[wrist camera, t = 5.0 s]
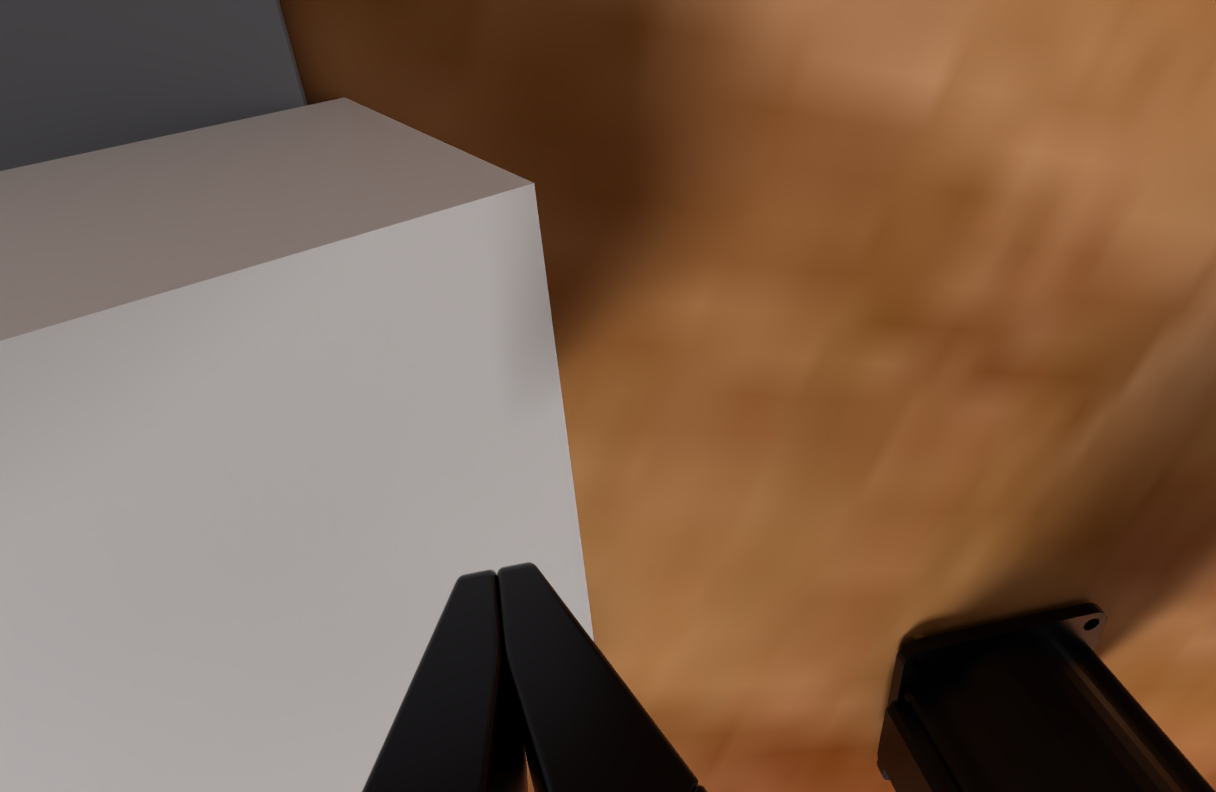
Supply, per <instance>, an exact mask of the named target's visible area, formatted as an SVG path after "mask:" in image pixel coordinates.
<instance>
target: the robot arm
mask: <svg viewBox="0 0 1216 792" xmlns="http://www.w3.org/2000/svg"><path fill="white" fill-rule="evenodd" d="M1106 621H1107V616H1106V614H1105V613H1104V612H1103V611H1102V610H1101V609H1100V608H1099V607H1098V606H1097V605H1096V604H1094V603H1084V604H1080V605H1075V606H1071V607H1066V608H1062V609H1057V610H1052V611H1048V612H1043V613H1039V614H1034V615H1030V616H1025V617H1021V618H1016V619H1011V620H1007V621H1002V622H998V623H993V624H989V625H984V626H979V627H975V628H970V629H966V630H961V631H957V632H952V633H948V634H943V635H938V636H934V637H929V638H925V639H920V640H916V641H913V642H910V643H908V644H906V645H905V646H903V647H902V648H901V649H900V650H899V652H898V655H897V659H896V664H895V670H894V675H893V680H892V686H891V691H890V696H889V702H888V706H887V708H886V710H885V716H884V721H883V727H882V732H881V737H880V743H879V748H878V761H877V766H878V768H879V770H880V772H881V774H882V776H883V778H884V779H886V780H890V781H891V783H892V785H893V787H894V789H895V791H896V792H1215V790H1214V789H1213V788H1212V787H1211V786H1210V785H1209V783H1208V782H1207V781H1206V780H1205V779H1204V778H1203V777H1202V775H1201V774H1200V773H1199V772H1198V771H1197V770H1196V769H1195V767H1194V766H1193V765H1192V764H1191V763H1190V762H1189V760H1188V759H1187V758H1186V757H1185V756H1184V755H1183V754H1182V752H1181V751H1180V750H1179V749H1178V748H1177V747H1176V746H1175V744H1174V743H1173V742H1172V741H1171V740H1170V739H1169V737H1168V736H1167V735H1166V734H1165V733H1164V732H1163V731H1162V729H1161V728H1160V727H1159V726H1158V725H1157V724H1156V722H1155V721H1154V720H1153V719H1152V718H1151V717H1150V716H1149V714H1148V713H1147V712H1146V711H1145V710H1144V709H1143V708H1142V706H1141V705H1140V704H1139V703H1138V702H1137V701H1136V699H1135V698H1134V697H1133V696H1132V695H1131V694H1130V693H1129V691H1128V690H1127V689H1126V688H1125V687H1124V686H1123V685H1122V683H1121V682H1120V681H1119V680H1118V679H1117V678H1116V676H1115V675H1114V674H1113V673H1112V672H1111V671H1110V670H1109V668H1108V667H1107V666H1106V665H1105V664H1104V663H1103V661H1102V660H1101V659H1100V658H1099V657H1098V656H1097V655H1096V653H1095V649H1096V647H1097V644H1098V642H1099V639H1100V636H1101V634H1102V631H1103V629H1104V626H1105V624H1106ZM525 752H526V755H525ZM526 757H527V761H528V766H529V770H530V774H531V779H532V783H533V787H534V791H535V792H707V791H706V789H705V788H704V787H703V786H701V785H699V786H698V780H697V778H696V777H695V775H694V774H693V773H692V771H691V770H690V769H689V767H688V766H687V765H686V763H685V762H684V761H683V759H682V758H681V757H680V755H679V754H678V753H677V751H676V750H675V749H674V747H673V746H672V745H671V744H670V742H669V741H668V740H667V738H666V737H665V736H664V734H663V733H662V732H661V730H660V729H659V728H658V726H657V725H656V724H655V722H654V721H653V720H652V718H651V717H650V716H649V714H648V713H647V712H646V710H645V709H644V708H643V706H642V705H641V704H640V702H639V701H638V700H637V698H636V697H635V696H634V694H633V693H632V692H631V690H630V689H629V688H628V687H627V685H626V684H625V683H624V681H623V680H622V679H621V677H620V676H619V675H618V673H617V672H616V671H615V669H614V668H613V667H612V665H611V664H610V663H609V661H608V660H607V659H606V657H605V656H604V655H603V653H602V652H601V651H600V649H599V648H598V647H597V645H596V644H595V643H594V641H593V640H592V639H591V637H590V636H589V635H588V634H587V632H586V631H585V630H584V628H583V627H582V626H581V624H580V623H579V622H578V620H577V619H576V618H575V616H574V615H573V614H572V612H571V611H570V610H569V608H568V607H567V606H566V604H565V603H564V602H563V600H562V599H561V598H560V596H559V595H558V594H557V592H556V591H555V590H554V588H553V587H552V586H551V584H550V583H549V582H548V580H547V579H546V578H545V577H544V575H543V574H542V573H541V571H540V570H539V569H538V567H537V566H536V565H535V564H533V563H531V562H527V563H521V564H516V565H511V566H506V567H502V568H500V569H499V570H498V573H497V574H496V572H495V571H493V570H485V571H479V572H474V573H469V574H464V575H461V576H460V577H459V578H458V579H457V581H456V583H455V585H454V587H453V589H452V591H451V594H450V596H449V598H448V600H447V603H446V605H445V607H444V609H443V612H442V614H441V616H440V618H439V620H438V623H437V625H436V627H435V629H434V632H433V634H432V636H431V638H430V641H429V643H428V645H427V647H426V650H425V652H424V654H423V656H422V658H421V661H420V663H419V665H418V667H417V670H416V672H415V674H414V676H413V679H412V681H411V683H410V685H409V688H408V690H407V692H406V694H405V696H404V699H403V701H402V703H401V705H400V708H399V710H398V712H397V714H396V717H395V719H394V721H393V723H392V726H391V728H390V730H389V732H388V734H387V737H386V739H385V741H384V743H383V746H382V748H381V750H380V752H379V755H378V757H377V759H376V761H375V764H374V766H373V768H372V770H371V772H370V775H369V777H368V779H367V781H366V784H365V786H364V788H363V790H362V792H528V783H527V764H526Z"/></svg>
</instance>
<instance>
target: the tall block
mask: <svg viewBox="0 0 1216 792" xmlns="http://www.w3.org/2000/svg"><path fill="white" fill-rule="evenodd" d="M527 562H531V563H533V564H535V565H536V566H537V567H538V569H539V570H540V571H541V573H542V574H543V575H544V577H545V578H546V579H547V580H548V582H549V583H550V584H551V586H552V587H553V588H554V590H555V591H556V592H557V594H558V595H559V596H560V598H561V599H562V600H563V602H564V603H565V604H566V606H567V607H568V608H569V610H570V611H571V612H572V614H573V615H574V616H575V618H576V619H577V620H578V622H579V623H580V624H581V626H582V627H583V628H584V630H585V631H586V632H587V634H588V635H589V636H590V637H591V639H592V640H593V641H594V638H593V630H592V623H591V615H590V607H589V600H588V592H587V584H586V577H585V569H584V561H583V554H582V546H581V538H580V531H579V523H578V515H577V508H576V500H575V492H574V485H573V477H572V469H571V462H570V454H569V446H568V439H567V431H566V423H565V416H564V408H563V400H562V393H561V385H560V377H559V370H558V362H557V354H556V347H555V339H554V331H553V324H552V316H551V308H550V301H549V293H548V285H547V278H546V270H545V262H544V255H543V247H542V239H541V232H540V224H539V216H538V209H537V201H536V193H535V186H534V183H533V182H531V181H528V180H526V179H524V178H522V177H520V176H517V175H515V174H513V173H511V172H508V171H506V170H504V169H502V168H500V167H497V166H495V165H493V164H491V163H489V162H486V161H484V160H482V159H480V158H478V157H475V156H473V155H471V154H469V153H467V152H464V151H462V150H460V149H458V148H456V147H453V146H451V145H449V144H447V143H444V142H442V141H440V140H438V139H436V138H433V137H431V136H429V135H427V134H425V133H422V132H420V131H418V130H416V129H414V128H411V127H409V126H407V125H405V124H403V123H400V122H398V121H396V120H394V119H392V118H389V117H387V116H385V115H383V114H381V113H378V112H376V111H374V110H372V109H369V108H367V107H365V106H363V105H361V104H358V103H356V102H354V101H352V100H350V99H347V98H345V97H344V98H339V99H335V100H330V101H325V102H321V103H316V104H311V105H307V106H302V107H297V108H293V109H288V110H283V111H279V112H274V113H269V114H265V115H260V116H255V117H251V118H246V119H241V120H237V121H232V122H227V123H223V124H218V125H213V126H209V127H204V128H199V129H195V130H190V131H185V132H181V133H176V134H171V135H167V136H162V137H157V138H153V139H148V140H143V141H139V142H134V143H129V144H125V145H120V146H115V147H111V148H106V149H101V150H97V151H92V152H87V153H83V154H78V155H73V156H69V157H64V158H59V159H55V160H50V161H45V162H41V163H36V164H31V165H27V166H22V167H17V168H13V169H8V170H3V171H0V792H362V790H363V788H364V786H365V784H366V781H367V779H368V777H369V775H370V772H371V770H372V768H373V766H374V764H375V761H376V759H377V757H378V755H379V752H380V750H381V748H382V746H383V743H384V741H385V739H386V737H387V734H388V732H389V730H390V728H391V726H392V723H393V721H394V719H395V717H396V714H397V712H398V710H399V708H400V705H401V703H402V701H403V699H404V696H405V694H406V692H407V690H408V688H409V685H410V683H411V681H412V679H413V676H414V674H415V672H416V670H417V667H418V665H419V663H420V661H421V658H422V656H423V654H424V652H425V650H426V647H427V645H428V643H429V641H430V638H431V636H432V634H433V632H434V629H435V627H436V625H437V623H438V620H439V618H440V616H441V614H442V612H443V609H444V607H445V605H446V603H447V600H448V598H449V596H450V594H451V591H452V589H453V587H454V585H455V583H456V581H457V579H458V578H459V577H460V576H461V575H464V574H469V573H474V572H479V571H485V570H493V571H495V572H496V574H497V573H498V570H499V569H500V568H502V567H506V566H511V565H516V564H521V563H527Z"/></svg>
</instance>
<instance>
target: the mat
mask: <svg viewBox="0 0 1216 792" xmlns="http://www.w3.org/2000/svg"><path fill="white" fill-rule="evenodd" d="M307 105H308V104H307V101H306V97H305V93H304V90H303V86H302V82H301V79H300V75H299V72H298V68H297V64H296V61H295V57H294V53H293V50H292V46H291V42H290V39H289V35H288V31H287V28H286V24H285V21H284V17H283V13H282V10H281V6H280V2H279V0H0V171H3V170H8V169H13V168H17V167H22V166H27V165H31V164H36V163H41V162H45V161H50V160H55V159H59V158H64V157H69V156H73V155H78V154H83V153H87V152H92V151H97V150H101V149H106V148H111V147H115V146H120V145H125V144H129V143H134V142H139V141H143V140H148V139H153V138H157V137H162V136H167V135H171V134H176V133H181V132H185V131H190V130H195V129H199V128H204V127H209V126H213V125H218V124H223V123H227V122H232V121H237V120H241V119H246V118H251V117H255V116H260V115H265V114H269V113H274V112H279V111H283V110H288V109H293V108H297V107H302V106H307Z"/></svg>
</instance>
